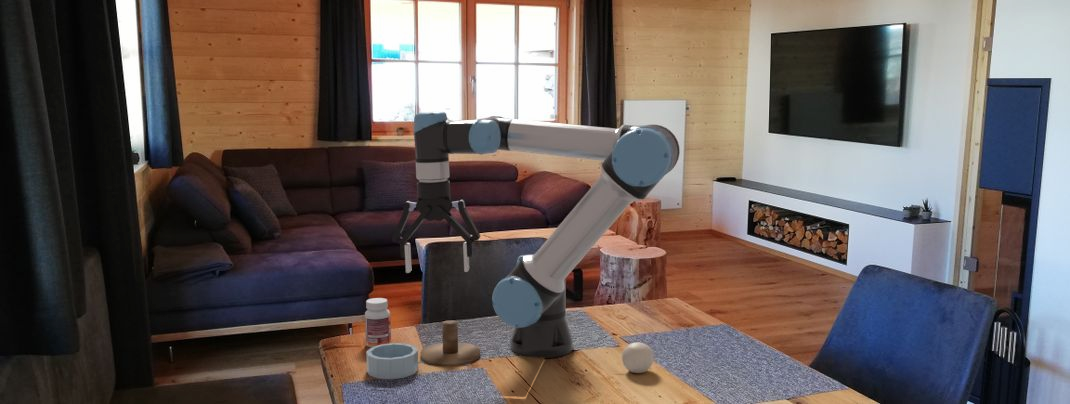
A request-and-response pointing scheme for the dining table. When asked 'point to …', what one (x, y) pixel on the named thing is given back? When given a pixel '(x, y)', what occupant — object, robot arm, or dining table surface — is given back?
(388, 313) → the pill bottle
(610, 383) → the dining table surface
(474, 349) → the lid
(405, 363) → the bowl
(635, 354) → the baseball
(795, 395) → the dining table surface
